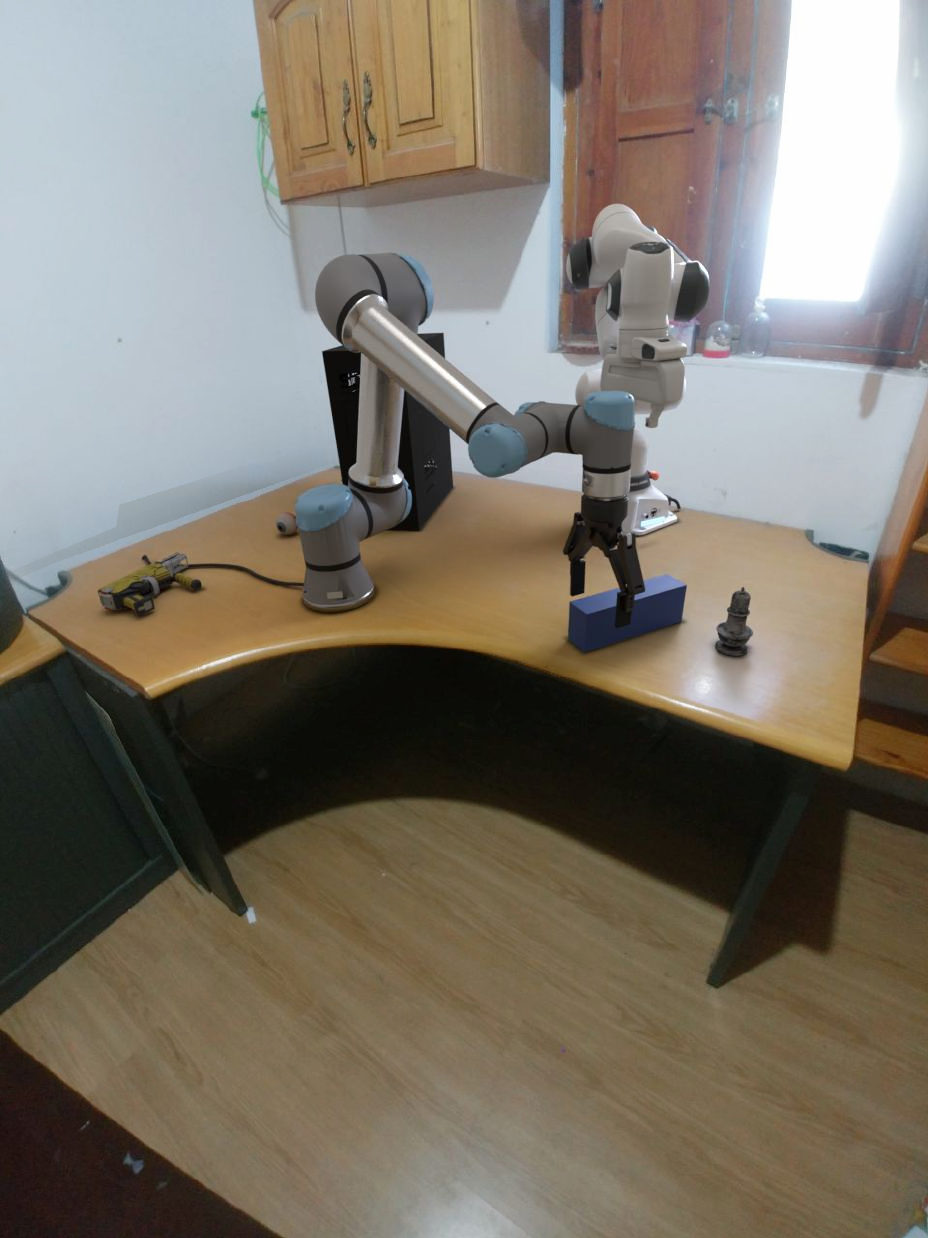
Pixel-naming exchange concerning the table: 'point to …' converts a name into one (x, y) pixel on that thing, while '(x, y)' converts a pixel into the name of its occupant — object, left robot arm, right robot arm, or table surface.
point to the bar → (650, 612)
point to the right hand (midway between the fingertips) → (635, 423)
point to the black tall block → (418, 434)
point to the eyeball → (286, 523)
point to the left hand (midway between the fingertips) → (598, 609)
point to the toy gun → (146, 585)
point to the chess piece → (735, 626)
